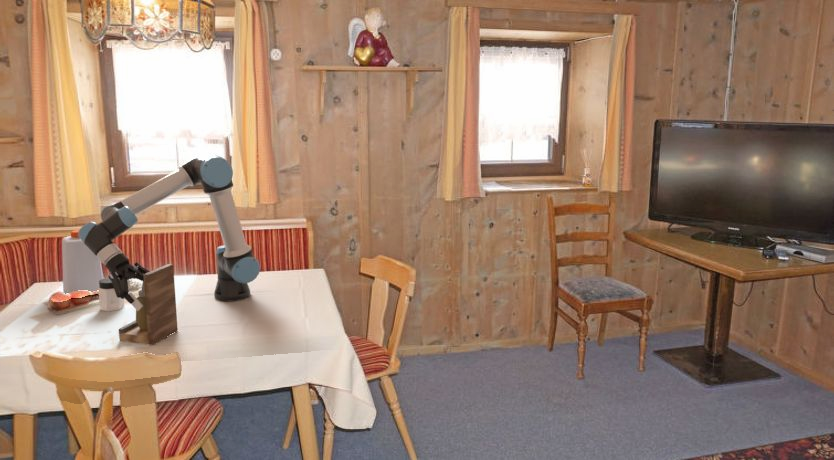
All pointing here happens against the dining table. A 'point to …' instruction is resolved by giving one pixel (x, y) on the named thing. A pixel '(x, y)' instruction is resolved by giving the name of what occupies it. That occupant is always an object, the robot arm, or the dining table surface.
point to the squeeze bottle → (142, 311)
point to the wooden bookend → (155, 309)
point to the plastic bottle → (79, 265)
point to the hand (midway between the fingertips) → (153, 302)
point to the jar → (108, 296)
